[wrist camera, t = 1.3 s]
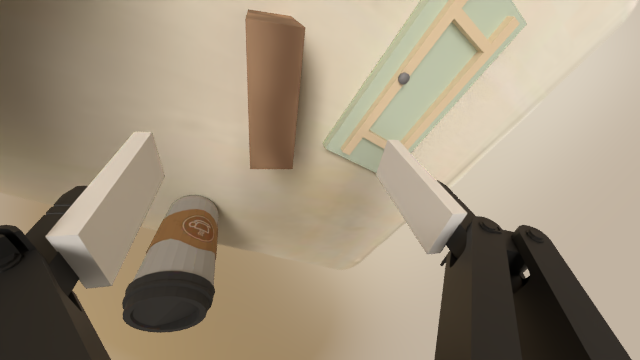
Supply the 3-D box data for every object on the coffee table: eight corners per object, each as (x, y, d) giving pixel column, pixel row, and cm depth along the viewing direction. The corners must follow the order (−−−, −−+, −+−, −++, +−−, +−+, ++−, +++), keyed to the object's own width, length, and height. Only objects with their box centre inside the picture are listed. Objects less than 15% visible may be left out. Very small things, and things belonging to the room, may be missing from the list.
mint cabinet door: (322, 143, 33) (327, 154, 31) (460, -58, 23) (482, -63, 21) (383, 173, 39) (391, 184, 37) (516, 22, 29) (538, 25, 27)
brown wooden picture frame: (251, 127, 30) (250, 169, 23) (248, 9, 23) (245, 18, 16) (284, 128, 31) (292, 168, 24) (291, 16, 24) (306, 27, 17)
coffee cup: (236, 204, 37) (228, 303, 25) (206, 236, 40) (186, 338, 28) (181, 178, 32) (140, 284, 21) (151, 215, 35) (99, 328, 23)
